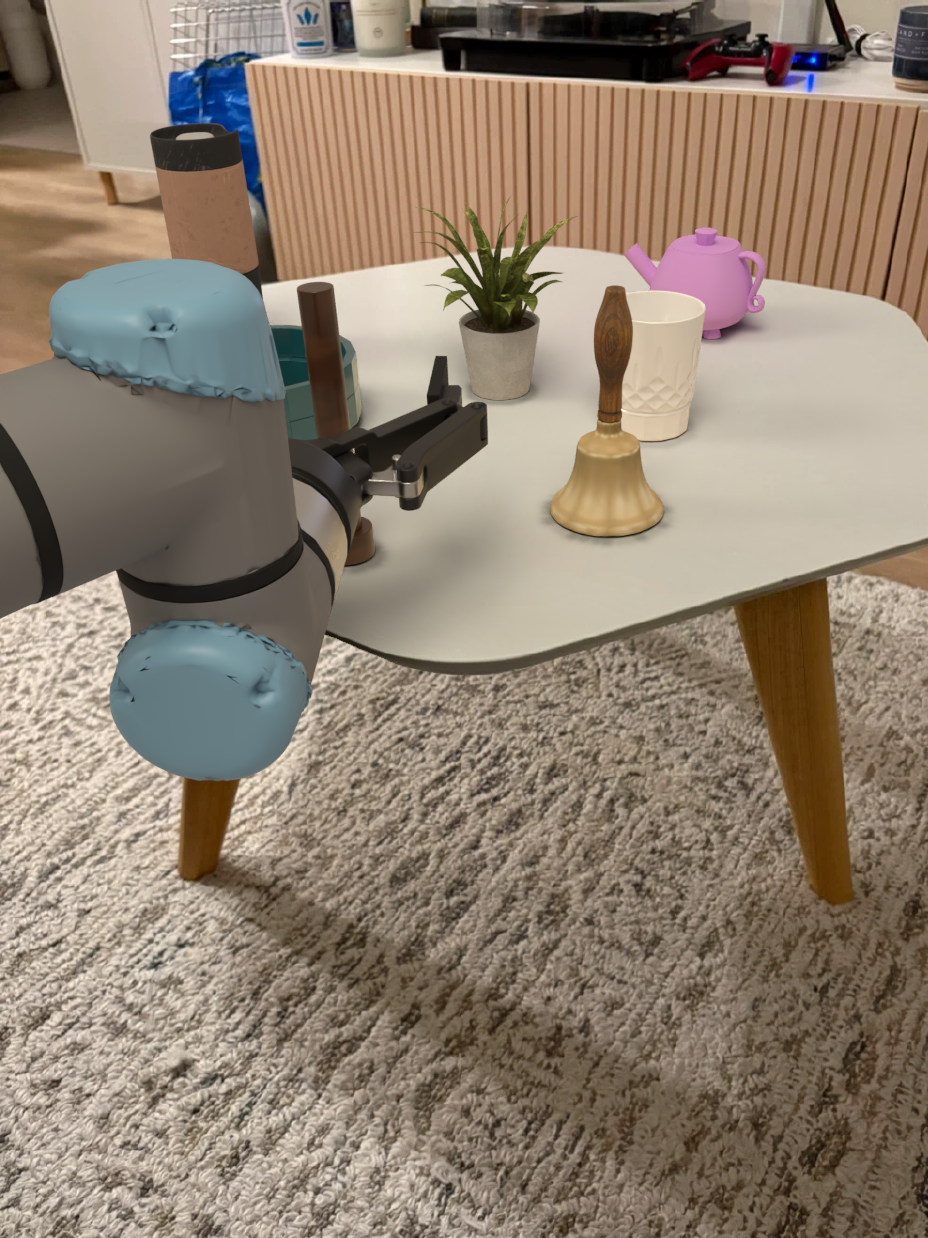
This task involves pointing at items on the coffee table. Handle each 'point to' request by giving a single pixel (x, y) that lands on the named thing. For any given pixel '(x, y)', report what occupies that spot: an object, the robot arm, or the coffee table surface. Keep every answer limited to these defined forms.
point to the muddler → (329, 385)
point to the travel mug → (206, 196)
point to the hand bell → (609, 444)
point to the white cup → (661, 363)
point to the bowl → (299, 386)
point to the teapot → (706, 276)
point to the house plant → (498, 310)
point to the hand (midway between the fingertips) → (339, 375)
